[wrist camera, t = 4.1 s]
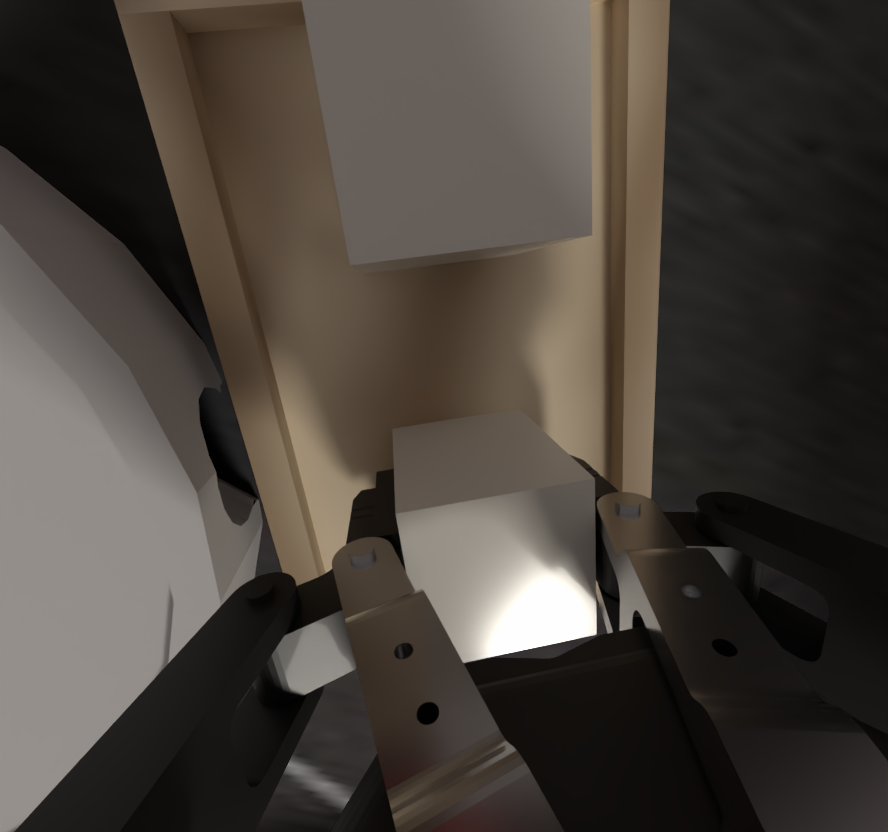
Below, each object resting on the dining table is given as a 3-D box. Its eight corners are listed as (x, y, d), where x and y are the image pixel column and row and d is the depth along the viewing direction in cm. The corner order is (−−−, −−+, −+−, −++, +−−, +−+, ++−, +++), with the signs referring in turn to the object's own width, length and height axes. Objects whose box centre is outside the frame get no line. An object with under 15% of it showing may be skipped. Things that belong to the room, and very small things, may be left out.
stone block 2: (518, 408, 13) (594, 478, 8) (526, 518, 14) (596, 634, 10) (392, 428, 13) (395, 513, 8) (411, 540, 14) (424, 670, 9)
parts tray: (637, -36, 10) (673, -82, 9) (626, 559, 16) (647, 583, 15) (139, -3, 9) (99, -49, 8) (313, 620, 15) (306, 652, 14)
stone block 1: (496, 85, 10) (589, -84, 6) (508, 255, 12) (592, 235, 7) (335, 100, 10) (288, -68, 5) (365, 274, 11) (349, 265, 7)
